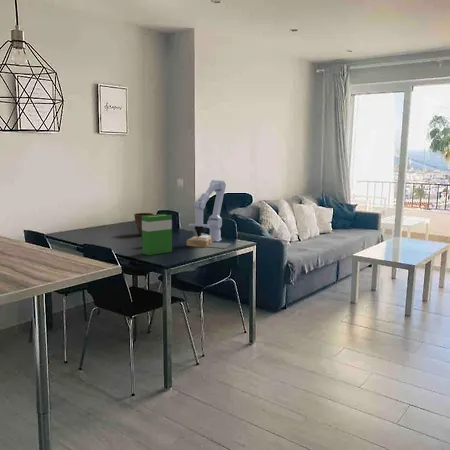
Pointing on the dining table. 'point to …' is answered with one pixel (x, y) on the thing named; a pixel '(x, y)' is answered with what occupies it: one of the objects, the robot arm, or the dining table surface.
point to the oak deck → (199, 242)
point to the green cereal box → (156, 234)
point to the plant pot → (140, 220)
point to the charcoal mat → (219, 245)
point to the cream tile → (204, 237)
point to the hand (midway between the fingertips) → (199, 237)
